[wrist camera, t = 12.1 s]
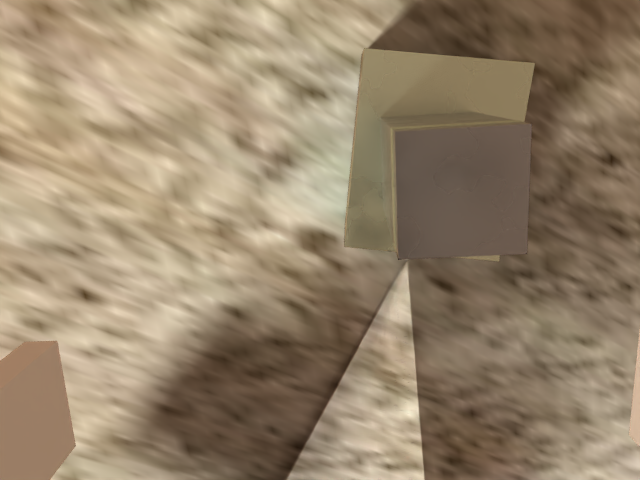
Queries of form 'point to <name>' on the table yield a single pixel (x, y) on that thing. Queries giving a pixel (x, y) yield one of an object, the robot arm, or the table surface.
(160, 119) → the table surface
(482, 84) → the grey-green storage box
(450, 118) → the column
